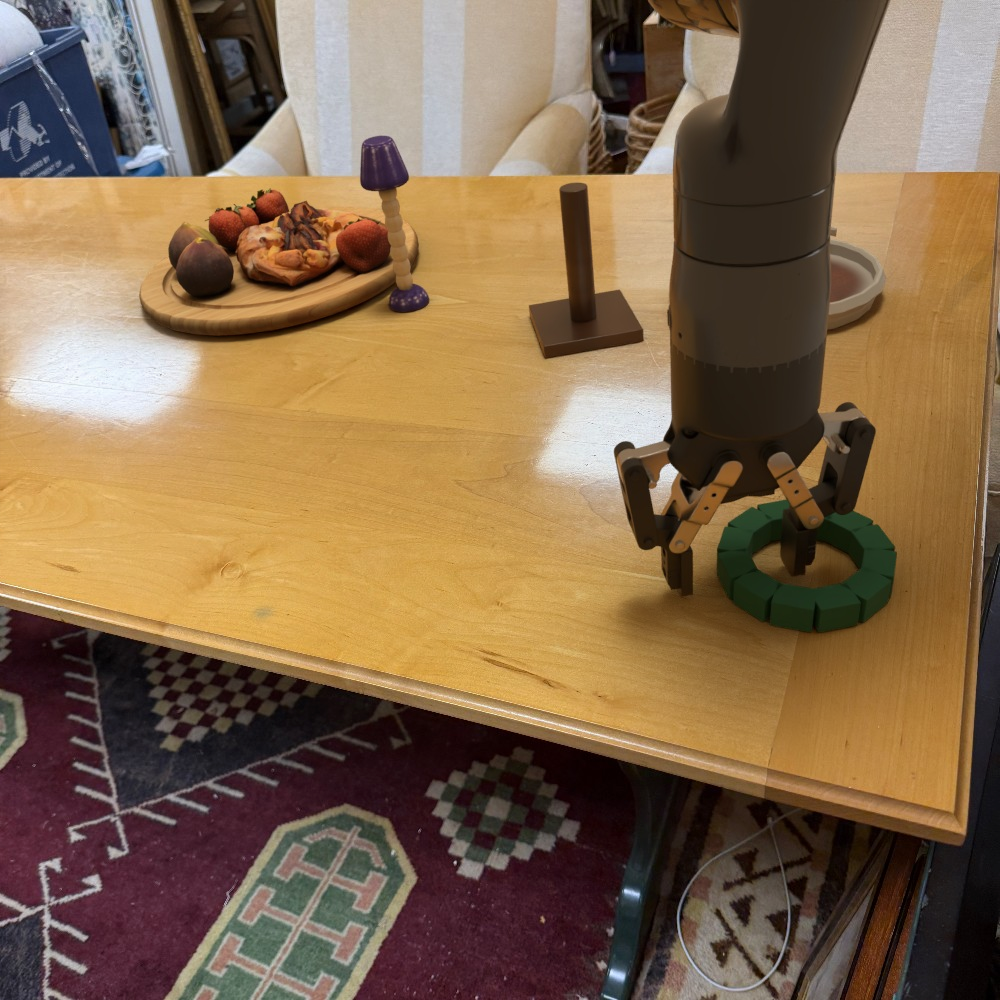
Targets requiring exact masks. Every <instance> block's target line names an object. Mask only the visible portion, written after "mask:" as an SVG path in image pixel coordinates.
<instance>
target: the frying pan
mask: <svg viewBox="0 0 1000 1000" xmlns="http://www.w3.org/2000/svg"><path fill="white" fill-rule="evenodd" d="M837 231H838V228H837V227H835V226H831V230H830V237H831V236H832V237H834V238H836V237H837ZM830 260H831V296H830V306H829V316H828V326H827V331H828V330H834V329H837V328H840V327H843V326H845V325H847V324H850V323H852V322H854V321H857V320H858V319H860V318H861V317H862V316H863V315H865V314H866V313H867V312H868V311H870V310H871V308H872V306H873V304H874V301H875V300H876V297H878V296H879V294H881V293H882V292H883V289H884V288H885V284H886V281H887V276H886V273H885V270H884V268H883V267H882V265H881V262H880V260H879V258H877V256H875V255H873V254H872V253H871V252H870V251H869V250H867V249H865V248H863V247H860V246H858V245H856V244H852V243H850V242H848V241H844V240H840V239H839V240H838V239H833V238H830Z"/></svg>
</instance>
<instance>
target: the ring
mask: <svg viewBox="0 0 1000 1000" xmlns="http://www.w3.org/2000/svg"><path fill="white" fill-rule="evenodd" d="M783 509H789V502H788V501H787V499H786V498H785V499H781V500H776V501H770V502H765V503H759V504H757V505H756V507H753V506H750V507H749V508H748V509H746V510H745V511H743V512H742V513H740V514H739V515H737V516H736V517H734V518H733V519H731V520H730V521H728V522H727V526H724V528H723V530H722V533H721V536H720V540H719V542H718V545H717V548H716V576H717V578H718V580H719V583H720V584H721V586H722V588H723V590H724V592H725V594H726V596H727V598H728V599H729V600H732V603H733V604H734V605H735V606H737V607H738V608H740V609H741V610H743V611H745V612H746V613H748V614H749V615H750V616H753V617H754V618H756V619H757V620H758V621H760V622H761V623H765V622H766V621H767V620H769V625H770V626H773V627H779V628H784V629H790V630H795V631H799V632H806V633H812V631H813V628H815V629H816V631H817V633H824V632H829V631H835V630H841V629H845V628H846V629H847V628H850V627H851V628H852V627H857V626H858V624H859V622H860V623H862V624H864V623H865V622H866V621H868V620H869V619H871V618H872V617H873V616H874V615H875V614H877V613H878V612H879V611H881V610H882V609H883V608H884V607H885V606H887V605H888V603H889V600H890V599H891V597H892V592H893V587H894V582H895V581H894V580H895V573H896V566H897V556H898V552H897V551H896V546H895V544H893V542H892V541H891V539H890V538H889V536H887V534H886V533H885V532H884V530H883V529H882V527H881V526H880V525H879V524H878V523H876V524H874V520H873V519H871V518H870V517H868V516H866V515H864V514H861V513H860V512H857V511H856V510H853V511H852V512H850V513H849V514H846V515H839V514H837V513H836V512H835V513H833V514H831V515H828V516H827V517H825V518H824V521H823V523H822V524H821V525H820V526H819V527H818V533H817V541H819V542H826V543H827V544H829V545H831V546H833V547H835V548H836V549H838V550H840V551H843V552H844V553H846V554H847V555H849V556H850V558H851V559H852V560H853V563H855V565H856V566H857V568H858V570H857V571H856V572H854V573H853V574H852V575H850V576H848V578H846V579H845V580H844V581H843V582H838V583H834V584H828V585H823V586H817V587H807V586H803V585H802V586H801V585H795V584H790V583H783V582H780V581H779V580H777V579H776V578H773V577H772V576H770V575H769V574H767V573H766V572H763V571H761V570H760V569H758V567H757V565H756V563H755V562H754V560H753V558H752V556H753V555H754V554H755V553H756V552H758V551H759V550H761V549H762V548H763V547H765V546H766V545H768V544H770V543H771V542H772V543H773V542H777V541H781V532H782V519H783ZM813 626H814V627H813Z"/></svg>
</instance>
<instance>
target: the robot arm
mask: <svg viewBox="0 0 1000 1000" xmlns="http://www.w3.org/2000/svg"><path fill="white" fill-rule="evenodd" d="M647 1H648V3H649V5H650V6H651V7H652V8H653V9H654V11H655V12H656V13H657V14H658V15H659V16H660V17H662V18H663V19H664V20H665V21H667V22H668V23H671V24H673V25H675V26H677V27H679V28H682V29H684V30H686V31H687V30H688V31H690V32H691V31H692V32H697V33H701V34H710V35H716V36H723V37H729V38H734V39H739V40H738V41H739V42H738V46H739V47H738V55H737V60H736V61H737V62H736V66H735V69H734V70H735V71H734V74H733V78H732V82H731V86H730V88H729V92H728V94H722V95H719V96H716V97H713V98H710V99H707V100H706V101H704V102H702V103H699V104H698V105H696V106H695V107H693V108H692V109H691V110H690V111H689V112H688V113H687V114H686V115H685V116H684V117H683V119H682V120H681V122H680V124H679V125H678V127H677V130H676V133H675V139H674V146H673V147H674V148H673V157H672V199H673V200H672V202H673V203H672V209H673V213H672V214H673V219H672V220H673V221H672V222H673V252H672V260H671V268H670V277H669V285H668V287H669V289H668V290H669V292H668V301H669V303H668V309H666V310H667V311H666V313H667V314H666V319H667V327H668V329H669V353H670V354H669V356H670V358H669V360H670V361H669V362H670V363H669V364H670V409H671V411H670V413H671V419H670V423H669V426H668V428H667V430H666V432H665V434H664V436H663V439H662V441H658V442H654V443H651V444H646V445H644V446H641V447H637V448H636V446H635V444H634V443H633V442H631V441H628V440H623V441H620V442H619V443H617V444H616V445H615V447H614V449H613V456H614V461H615V466H616V471H617V475H618V480H619V486H620V489H621V494H622V500H623V504H624V508H625V513H626V518H627V521H628V524H629V527H630V529H631V531H632V534H633V537H634V538H635V541H636V544H637V546H638V548H639V549H641V550H642V551H651V550H653V549H654V548H656V547H660V559H661V560H660V561H661V562H660V565H661V572H662V575H663V576H664V579H665V581H666V583H667V585H668V588H669V589H670V591H675V590H676V591H677V594H678V595H679V597H680V598H683V597H689V596H693V595H694V551H693V548H692V546H691V545H692V543H693V541H694V539H695V538H696V536H697V534H698V532H699V531H700V529H701V527H702V526H707V525H709V524H710V522H711V520H712V519H713V517H714V515H715V514H716V512H717V510H718V508H719V507H720V505H723V504H729V503H733V502H737V501H738V500H741V499H743V498H746V497H754V498H755V497H760V498H763V497H767V496H773V495H775V493H776V492H775V491H776V490H778V489H779V490H780V492H781V493H782V494H783V496H784V497H785V500H786V499H787V501H788V502H789V509H783V519H782V532H781V540H780V545H779V547H780V548H779V556H780V560H781V562H782V564H783V565H784V567H785V569H786V570H787V572H788V574H789V575H790V577H791V578H795V577H800V576H805V575H806V568H807V567H808V566H812V564H813V562H814V561H815V558H816V551H817V541H818V540H817V533H818V527H819V526H820V525H821V524H822V523H823V521H824V518H825V517H827V516H828V515H831V514H833V513H835V512H836V513H837V514H839V515H846V514H849V513H850V512H852V511H855V509H856V506H857V503H858V500H859V499H858V498H859V495H860V492H861V488H862V485H863V481H864V478H865V477H864V476H865V474H866V470H867V466H868V462H869V460H870V459H869V458H870V455H871V451H872V448H873V444H874V441H875V436H876V434H877V433H876V432H877V430H876V427H875V426H874V425H873V424H872V423H871V422H870V420H869V418H867V416H866V415H865V414H864V413H863V412H862V411H861V409H859V408H858V407H857V405H855V403H854V402H851V401H846V402H843V403H840V404H839V405H838V406H837V407H836V409H835V411H833V412H832V411H831V412H819V408H820V405H821V399H822V389H823V378H824V368H825V357H826V346H827V336H828V330H827V326H828V316H829V306H830V296H831V260H830V239H831V235H830V230H831V227H832V220H833V207H834V197H835V185H836V176H837V165H838V151H839V146H840V143H841V139H842V137H843V133H844V132H845V129H846V125H847V124H848V123H847V122H848V120H849V117H850V114H851V111H852V109H853V108H854V105H855V102H856V99H857V97H858V94H859V91H860V87H861V85H862V82H863V79H864V76H865V73H866V70H867V68H868V64H869V61H870V59H871V56H872V53H873V51H874V48H875V46H876V43H877V40H878V36H879V34H880V32H881V29H882V26H883V23H884V20H885V18H886V14H887V12H888V9H889V6H890V3H891V1H892V0H647ZM822 440H823V442H824V443H825V445H826V447H825V452H824V456H823V460H822V464H821V469H820V472H819V477H818V481H817V484H816V485H814V486H812V487H810V488H809V487H808V486H807V484H806V483H805V481H804V479H803V478H802V475H801V474H800V472H799V471H798V469H799V468H800V467H801V465H802V464H803V463H804V462H805V460H806V459H807V457H809V455H810V454H811V453H812V452H813V451H814V450H815V449H816V447H817V446H818V445H819V444H820V442H821V441H822ZM669 464H670V465H671V467H673V468H674V469H675V470H676V471H677V474H676V475H675V478H674V480H673V482H672V484H671V488H670V495H669V499H667V502H666V504H665V506H664V507H663V509H662V511H661V513H660V514H656V513H655V511H654V507H653V506H654V505H653V500H652V496H651V490H654V489H656V487H657V486H658V482H659V481H660V478H661V472H662V469H663V468H664V467H666V466H668V465H669Z"/></svg>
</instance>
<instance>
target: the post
mask: <svg viewBox="0 0 1000 1000" xmlns="http://www.w3.org/2000/svg"><path fill="white" fill-rule="evenodd" d="M588 189H589V188H588V184H587V183H584V182H569V183H565V184H562V185H561V186H560V187H559V189H558V191H559V201H560V213H561V224H562V225H561V226H562V235H563V236H562V238H563V246H564V247H563V248H564V249H563V250H564V259H565V269H566V280H567V281H566V283H567V293H568V298H563V299H557V300H551V301H546V302H545V301H544V302H539V303H533V304H529V305H528V311H529V312H528V313H529V317H530V320H531V323H532V326H533V329H534V331H535V334H536V337H537V340H538V342H539V343H538V344H539V345H540V348H541V350H542V354H543V356H544V358H545V359H548V358H553V357H560V356H565V355H571V354H577V353H583V352H589V351H593V350H601V349H605V348H611V347H617V346H623V345H627V344H628V345H629V344H635V343H639V342H644V340H645V339H644V338H645V337H644V328H643V326H642V325H641V323H640V321H639V319H638V318H637V316H636V315H635V313H634V311H633V310H632V308H631V306H630V304H629V302H628V301H627V300H626V297H625V296H624V294H623V292H622V290H621V289H613V290H608V291H603V292H596V287H595V274H594V258H593V245H592V230H591V229H592V228H591V216H590V201H589V190H588Z"/></svg>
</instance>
